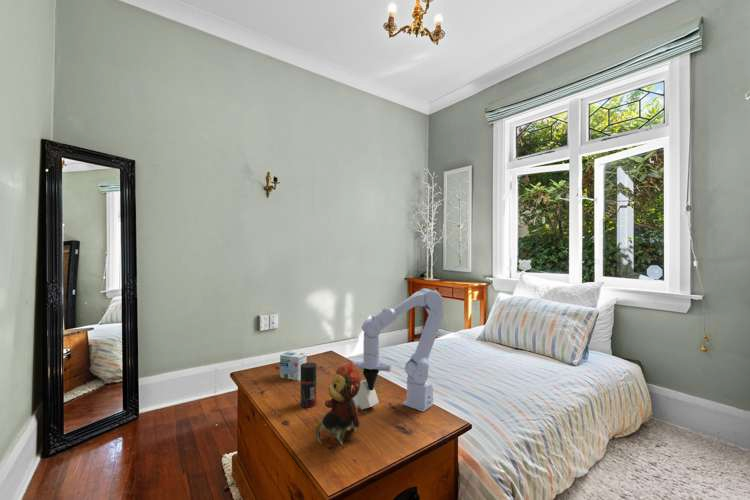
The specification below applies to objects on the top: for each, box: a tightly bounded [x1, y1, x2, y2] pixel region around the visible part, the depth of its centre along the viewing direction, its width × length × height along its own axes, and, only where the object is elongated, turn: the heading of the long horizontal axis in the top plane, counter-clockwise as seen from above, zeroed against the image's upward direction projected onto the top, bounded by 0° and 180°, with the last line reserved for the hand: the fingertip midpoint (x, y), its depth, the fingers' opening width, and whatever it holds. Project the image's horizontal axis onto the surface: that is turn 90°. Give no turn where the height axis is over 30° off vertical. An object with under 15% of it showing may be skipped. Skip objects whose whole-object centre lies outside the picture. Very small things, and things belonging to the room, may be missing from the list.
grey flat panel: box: [353, 395, 361, 410], centre depth 133 cm, size 13×11×1 cm
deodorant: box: [300, 362, 318, 409], centre depth 131 cm, size 6×6×15 cm
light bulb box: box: [279, 350, 308, 382], centre depth 159 cm, size 11×7×11 cm, turn 68°
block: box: [357, 379, 380, 410], centre depth 128 cm, size 5×5×9 cm
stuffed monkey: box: [315, 361, 362, 446], centre depth 105 cm, size 15×17×25 cm
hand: (371, 389), depth 126 cm, fingers closed
